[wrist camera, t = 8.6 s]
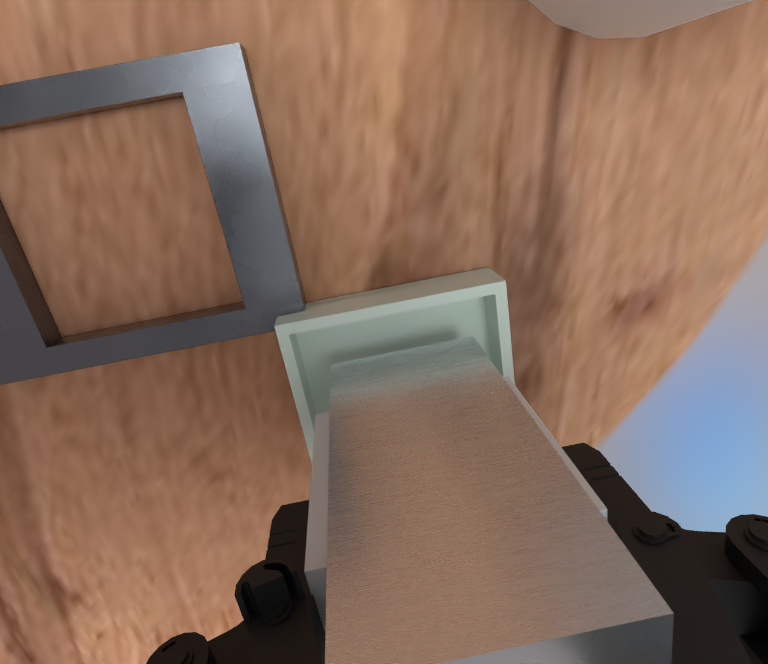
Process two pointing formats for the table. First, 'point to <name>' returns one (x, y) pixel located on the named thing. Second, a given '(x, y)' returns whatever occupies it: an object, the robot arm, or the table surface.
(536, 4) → the mug
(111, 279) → the table surface
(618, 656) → the grey rectangular block
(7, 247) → the double window frame
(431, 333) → the tray
